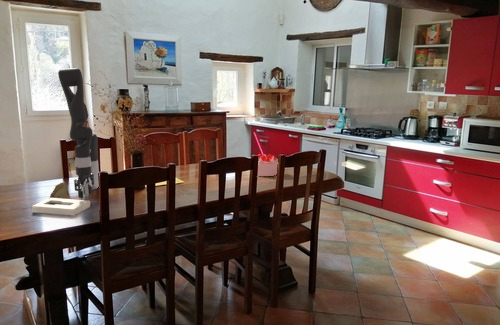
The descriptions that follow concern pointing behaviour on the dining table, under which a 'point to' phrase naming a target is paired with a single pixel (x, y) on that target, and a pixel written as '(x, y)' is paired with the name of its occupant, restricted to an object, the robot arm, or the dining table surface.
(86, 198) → the bolt
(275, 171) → the cake
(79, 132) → the robot arm
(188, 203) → the dining table surface
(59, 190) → the rock
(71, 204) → the keyhole board
